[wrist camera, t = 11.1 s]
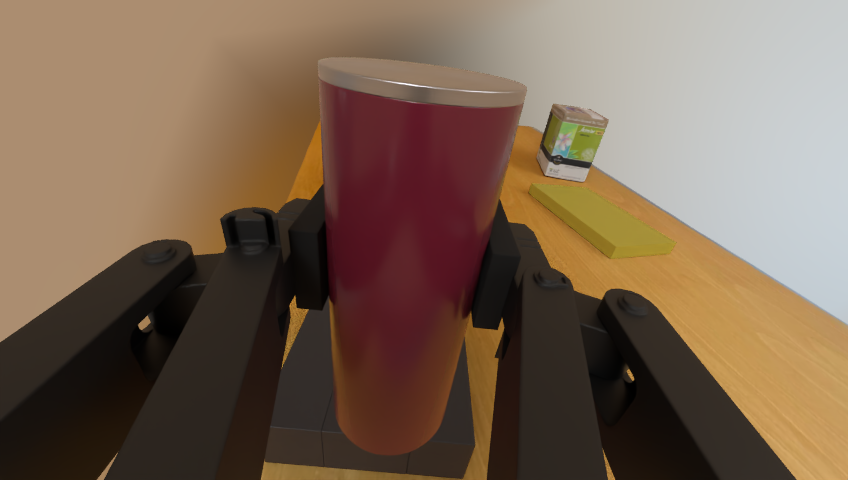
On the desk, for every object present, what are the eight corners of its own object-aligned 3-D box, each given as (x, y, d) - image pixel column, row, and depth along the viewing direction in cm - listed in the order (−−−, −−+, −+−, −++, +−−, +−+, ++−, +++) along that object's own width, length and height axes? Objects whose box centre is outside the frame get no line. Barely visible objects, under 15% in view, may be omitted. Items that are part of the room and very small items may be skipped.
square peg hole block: (265, 462, 23) (255, 425, 20) (322, 318, 34) (320, 284, 32) (463, 479, 23) (475, 445, 21) (453, 331, 35) (461, 298, 32)
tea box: (585, 183, 80) (610, 119, 72) (543, 176, 80) (563, 112, 73) (571, 163, 92) (591, 107, 85) (535, 158, 93) (551, 101, 85)
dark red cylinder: (319, 449, 12) (281, 66, 6) (348, 347, 16) (346, 53, 9) (446, 462, 12) (555, 102, 6) (444, 357, 16) (507, 74, 10)
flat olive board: (669, 253, 54) (576, 192, 74) (676, 242, 53) (579, 183, 73) (610, 258, 51) (528, 192, 70) (616, 246, 50) (531, 183, 69)
